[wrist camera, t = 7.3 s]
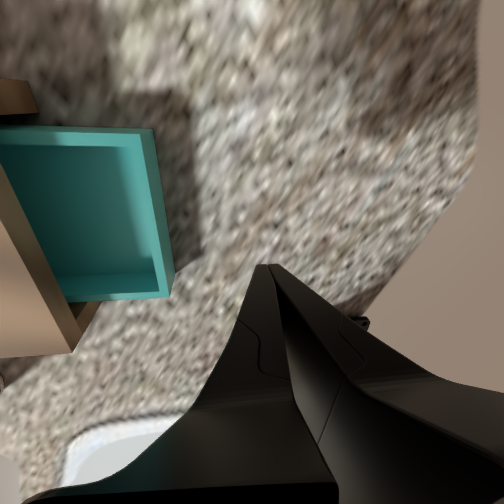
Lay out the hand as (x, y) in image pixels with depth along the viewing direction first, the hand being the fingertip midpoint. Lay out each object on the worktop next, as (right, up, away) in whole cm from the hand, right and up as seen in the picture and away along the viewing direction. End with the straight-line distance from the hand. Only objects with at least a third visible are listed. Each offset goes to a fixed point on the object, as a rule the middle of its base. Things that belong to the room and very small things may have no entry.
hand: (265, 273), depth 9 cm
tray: (-12, +3, +5) cm, 13 cm away
